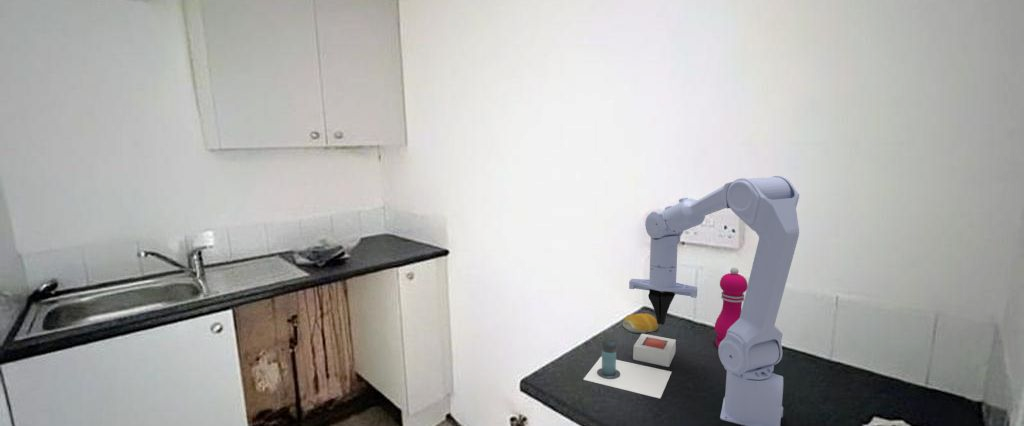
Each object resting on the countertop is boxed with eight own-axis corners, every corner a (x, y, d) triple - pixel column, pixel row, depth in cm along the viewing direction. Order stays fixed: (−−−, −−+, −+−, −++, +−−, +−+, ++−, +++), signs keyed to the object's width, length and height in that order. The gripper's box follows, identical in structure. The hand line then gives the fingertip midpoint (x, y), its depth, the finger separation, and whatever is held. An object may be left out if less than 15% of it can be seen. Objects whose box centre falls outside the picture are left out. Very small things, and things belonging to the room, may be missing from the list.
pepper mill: (751, 353, 113) (757, 271, 109) (720, 353, 113) (725, 271, 109) (737, 340, 120) (742, 263, 116) (708, 340, 120) (713, 263, 117)
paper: (671, 373, 104) (671, 371, 104) (660, 399, 93) (660, 398, 93) (601, 357, 111) (601, 356, 111) (583, 380, 101) (583, 379, 101)
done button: (665, 350, 112) (665, 340, 111) (661, 357, 108) (662, 347, 108) (647, 347, 114) (648, 337, 113) (644, 353, 110) (644, 343, 110)
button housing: (675, 353, 113) (675, 339, 112) (668, 368, 106) (669, 353, 105) (641, 346, 117) (641, 333, 116) (633, 360, 110) (633, 346, 109)
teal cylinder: (617, 371, 104) (618, 341, 103) (613, 377, 101) (614, 346, 100) (604, 368, 105) (604, 338, 104) (599, 374, 103) (600, 344, 102)
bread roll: (663, 331, 126) (664, 316, 126) (636, 336, 123) (636, 322, 122) (644, 320, 134) (644, 306, 133) (617, 325, 131) (617, 311, 130)
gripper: (700, 264, 106) (697, 322, 108) (635, 257, 113) (633, 311, 115) (695, 272, 100) (692, 333, 102) (627, 264, 106) (625, 321, 109)
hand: (661, 322), depth 108 cm, fingers closed
